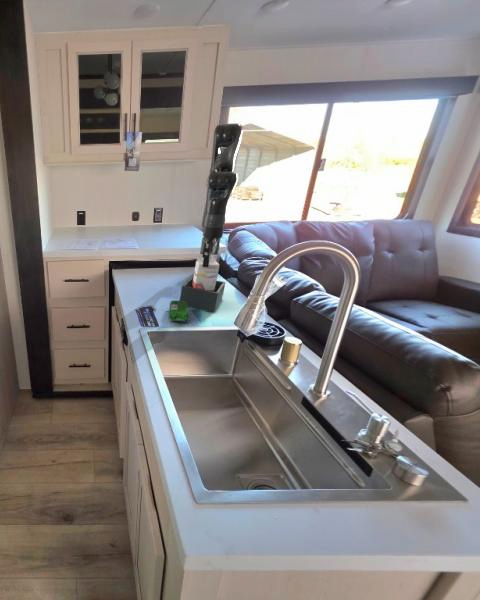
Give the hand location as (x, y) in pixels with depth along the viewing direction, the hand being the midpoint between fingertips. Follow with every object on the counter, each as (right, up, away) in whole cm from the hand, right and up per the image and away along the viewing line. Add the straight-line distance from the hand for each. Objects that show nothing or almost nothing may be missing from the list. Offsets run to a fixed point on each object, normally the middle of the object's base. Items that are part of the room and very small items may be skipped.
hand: (207, 264), depth 132 cm
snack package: (-14, -22, -6) cm, 27 cm away
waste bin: (0, -16, +7) cm, 17 cm away
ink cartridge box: (0, -10, +4) cm, 11 cm away
